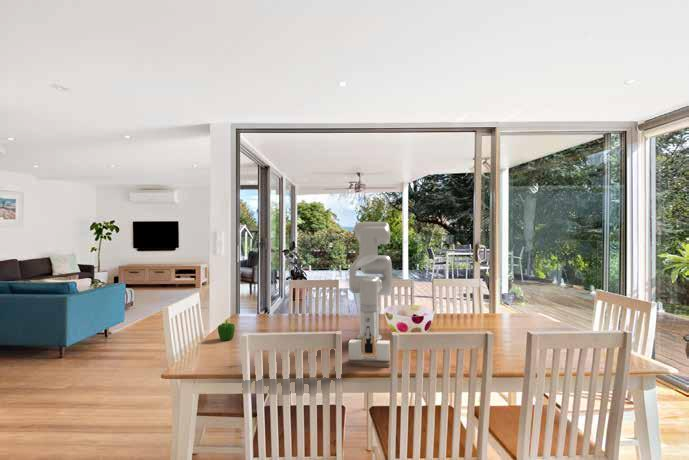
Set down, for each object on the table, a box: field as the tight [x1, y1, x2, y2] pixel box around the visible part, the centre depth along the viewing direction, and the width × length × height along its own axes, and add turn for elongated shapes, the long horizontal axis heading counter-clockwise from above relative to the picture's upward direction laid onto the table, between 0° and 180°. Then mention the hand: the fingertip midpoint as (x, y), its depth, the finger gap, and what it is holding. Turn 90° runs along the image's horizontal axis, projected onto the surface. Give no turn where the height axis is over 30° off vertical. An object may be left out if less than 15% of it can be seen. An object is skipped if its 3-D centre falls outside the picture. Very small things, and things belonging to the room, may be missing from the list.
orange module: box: [362, 334, 377, 356], centre depth 178 cm, size 5×5×8 cm
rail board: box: [347, 339, 391, 368], centre depth 178 cm, size 10×17×9 cm, turn 82°
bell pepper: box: [217, 319, 236, 341], centre depth 218 cm, size 8×8×10 cm
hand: (369, 350), depth 178 cm, fingers closed on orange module, 5 cm apart
